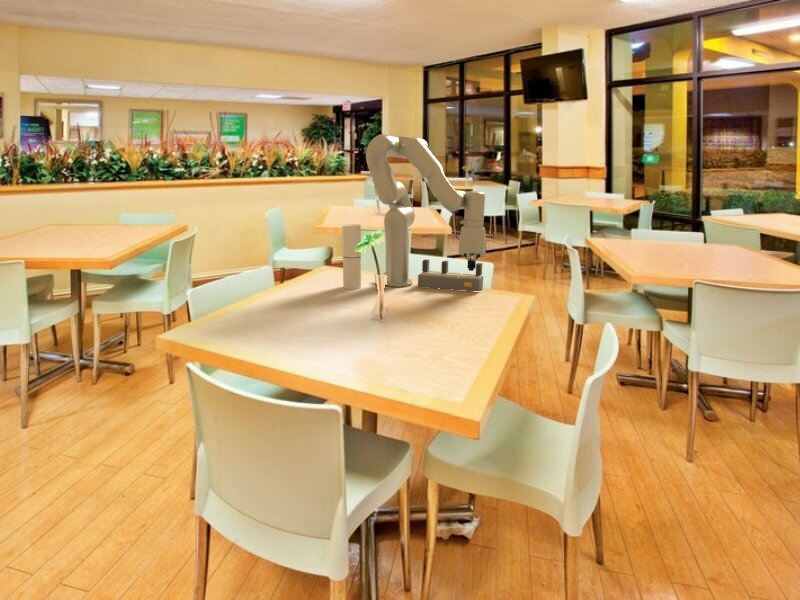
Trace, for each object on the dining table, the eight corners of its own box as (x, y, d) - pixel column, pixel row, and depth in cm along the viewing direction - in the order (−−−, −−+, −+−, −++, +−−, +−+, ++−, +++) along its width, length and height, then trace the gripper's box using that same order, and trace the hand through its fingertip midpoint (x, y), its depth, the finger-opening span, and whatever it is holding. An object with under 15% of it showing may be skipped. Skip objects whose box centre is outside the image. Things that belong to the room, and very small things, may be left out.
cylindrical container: (345, 289, 216) (344, 226, 210) (342, 285, 223) (340, 224, 217) (362, 288, 218) (362, 226, 212) (359, 284, 225) (358, 224, 218)
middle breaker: (441, 272, 219) (441, 261, 218) (443, 271, 222) (443, 260, 221) (446, 273, 218) (446, 262, 217) (448, 271, 221) (448, 260, 220)
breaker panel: (417, 287, 221) (417, 272, 219) (423, 283, 228) (423, 269, 227) (478, 292, 213) (479, 277, 211) (482, 288, 221) (483, 273, 219)
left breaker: (422, 271, 221) (422, 260, 220) (424, 269, 224) (424, 259, 223) (427, 271, 221) (427, 260, 220) (429, 270, 223) (429, 259, 222)
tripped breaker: (475, 275, 215) (476, 264, 213) (477, 273, 217) (477, 262, 216) (480, 275, 214) (481, 264, 213) (482, 274, 217) (482, 263, 216)
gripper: (452, 223, 210) (450, 270, 215) (491, 226, 206) (488, 273, 210) (457, 221, 217) (455, 267, 222) (494, 223, 213) (491, 270, 217)
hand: (471, 270), depth 216 cm, fingers closed
